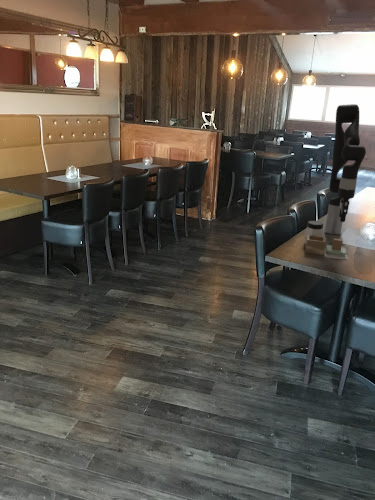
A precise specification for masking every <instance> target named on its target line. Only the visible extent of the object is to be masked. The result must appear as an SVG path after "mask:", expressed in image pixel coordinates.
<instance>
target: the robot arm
mask: <svg viewBox="0 0 375 500" xmlns="http://www.w3.org/2000/svg"><path fill="white" fill-rule="evenodd" d="M343 124H349V126H348V127H346V129H345V131H344V129H343ZM334 130H335V131H334V133H335V134H334V140H333V153H332V163H331V164H332V165H331V173H330V179H329V180H330V181H329V186H328V187H329V188H328V189H329V192H330V193H334V194H337V197H331V198H330V199H329V203H328V208H327V209H328V210H327V213H326V215H327V216H326V222H325V228H324V232H325V233H326V234H329V235H340V234H341V232H342V226H343V223H345V222H346V219H347V218H346V217H347V215H348V212H349V206H350V201H349V199H354V198H355V193H356V187H357V179H358V175H359V169H360V167H361V164H362V162H363V160H364V158H365V156H366V153H367V151H366V148H365V146H363V145H360V144H361V139H360V108H359V105H358V104H355V103H354V104H353V103H352V104H351V103H350V104H339V105H337V108H336V112H335V129H334ZM348 161H353V163H352V164H349V165H346V164H347V163H348ZM341 170H342V172H341V176H338V174H339V172H340V171H341Z"/></svg>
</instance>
